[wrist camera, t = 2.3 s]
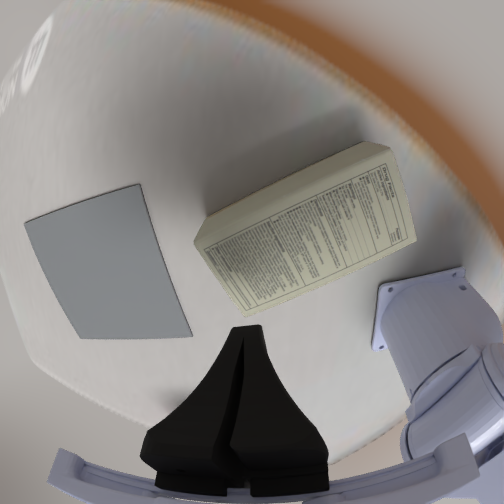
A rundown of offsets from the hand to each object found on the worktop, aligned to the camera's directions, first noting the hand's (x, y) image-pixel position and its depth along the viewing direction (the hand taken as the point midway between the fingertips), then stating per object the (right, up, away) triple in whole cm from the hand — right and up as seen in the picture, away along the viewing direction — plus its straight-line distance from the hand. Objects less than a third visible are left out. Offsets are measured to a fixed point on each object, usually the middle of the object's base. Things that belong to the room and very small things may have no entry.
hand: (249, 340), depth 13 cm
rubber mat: (-13, +2, +9) cm, 16 cm away
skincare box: (-2, +3, +5) cm, 7 cm away
